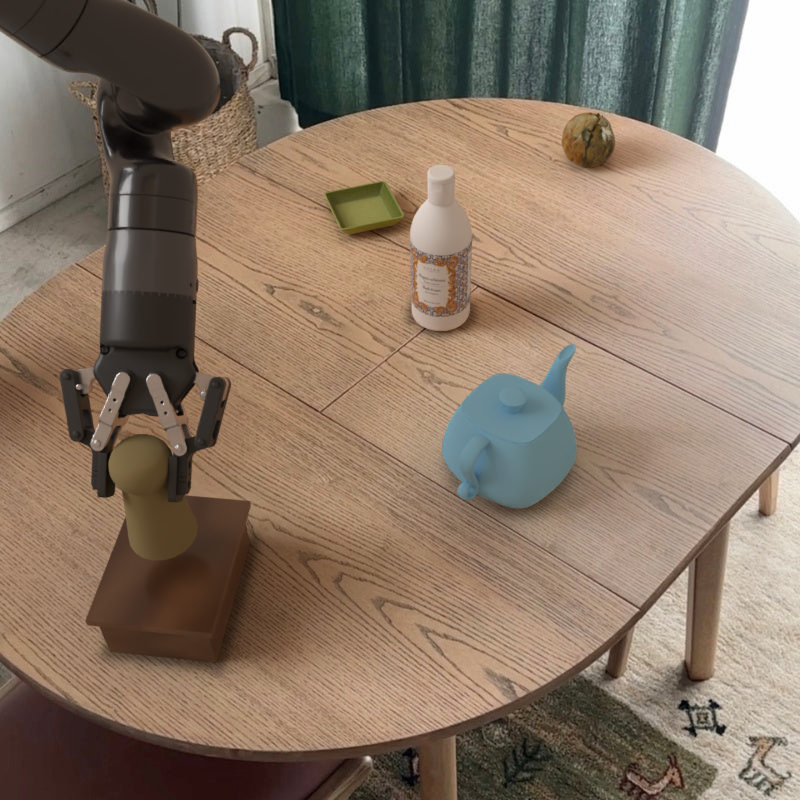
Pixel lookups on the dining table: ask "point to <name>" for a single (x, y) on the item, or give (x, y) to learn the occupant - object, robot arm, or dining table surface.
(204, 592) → the lidded wooden box
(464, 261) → the bath foam
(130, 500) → the olive pawn
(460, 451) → the teapot
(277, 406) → the dining table surface
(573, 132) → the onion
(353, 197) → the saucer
